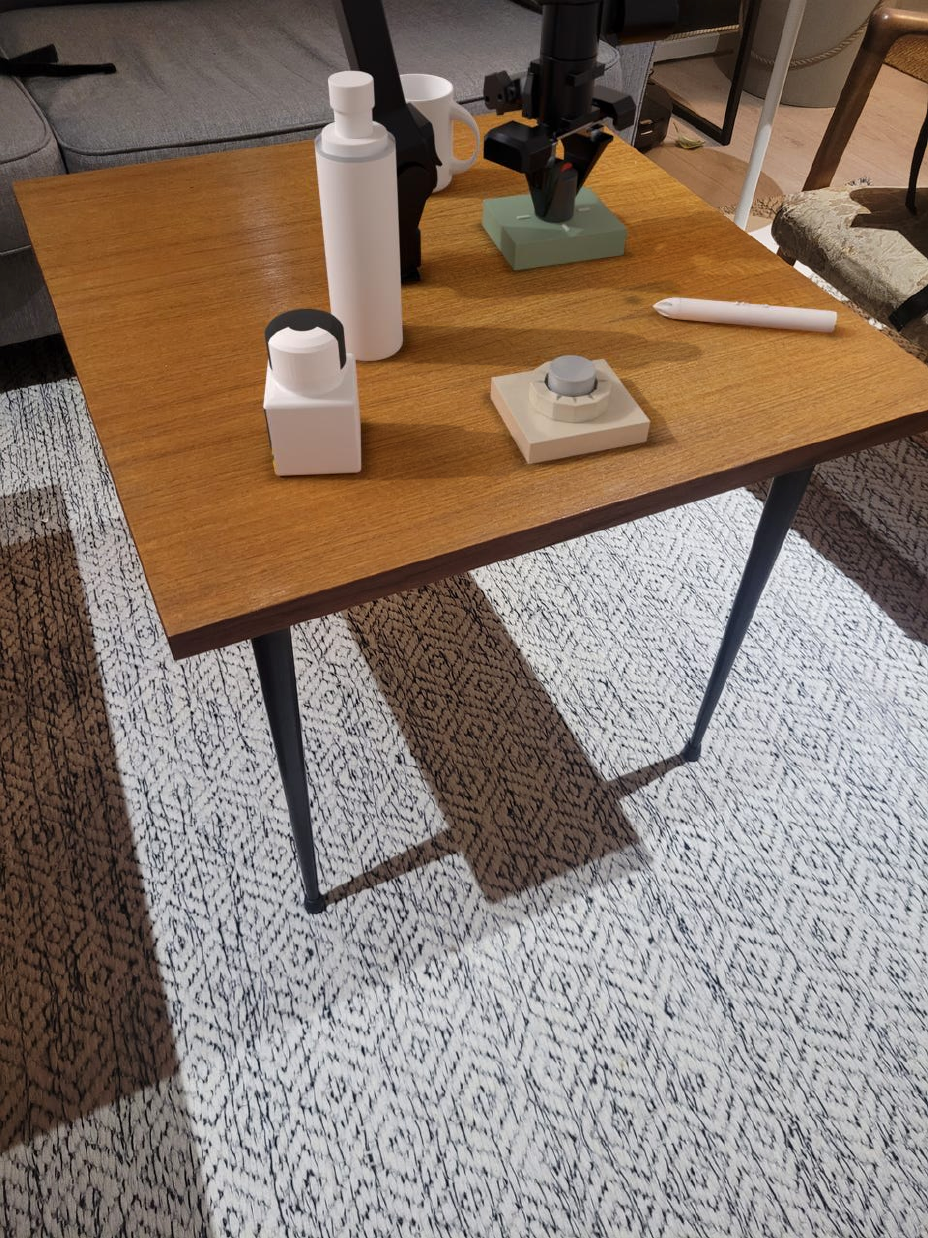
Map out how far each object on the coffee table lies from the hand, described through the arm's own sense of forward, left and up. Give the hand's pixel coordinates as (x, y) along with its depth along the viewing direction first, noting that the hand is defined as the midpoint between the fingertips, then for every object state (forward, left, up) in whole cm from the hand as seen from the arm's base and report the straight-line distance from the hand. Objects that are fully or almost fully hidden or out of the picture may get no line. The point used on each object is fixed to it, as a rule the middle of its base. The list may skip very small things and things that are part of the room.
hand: (554, 209), depth 102 cm
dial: (0, 0, 0) cm, 0 cm away
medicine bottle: (-33, -30, -4) cm, 45 cm away
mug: (-9, +18, -4) cm, 20 cm away
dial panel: (0, 0, -4) cm, 4 cm away
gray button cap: (-11, -32, 0) cm, 34 cm away
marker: (+12, -22, -4) cm, 25 cm away
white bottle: (-25, -15, -4) cm, 29 cm away
